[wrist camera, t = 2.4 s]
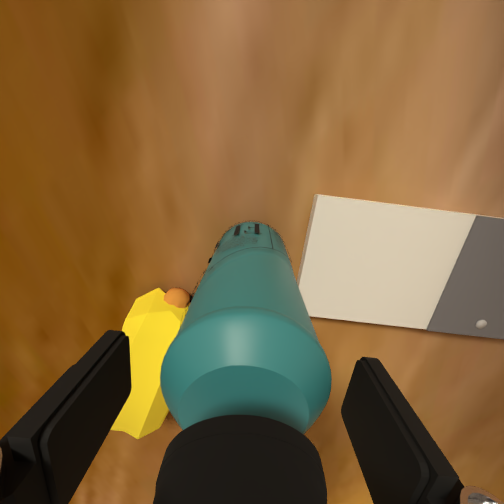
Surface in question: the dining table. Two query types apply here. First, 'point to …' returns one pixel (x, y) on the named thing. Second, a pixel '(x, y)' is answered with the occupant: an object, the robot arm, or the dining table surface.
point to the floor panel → (404, 266)
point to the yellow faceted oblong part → (149, 357)
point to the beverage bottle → (245, 383)
